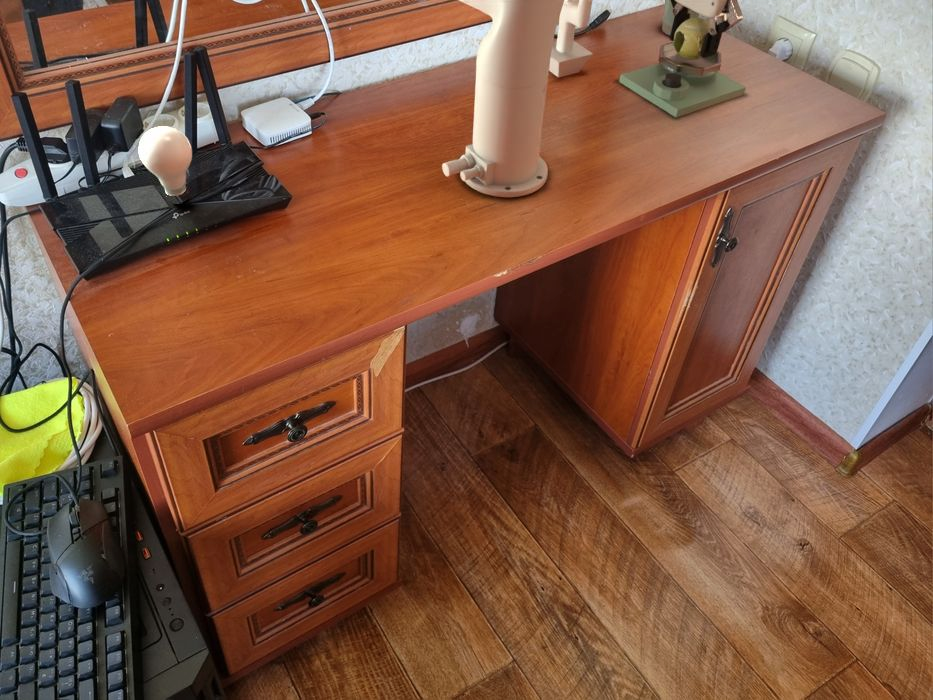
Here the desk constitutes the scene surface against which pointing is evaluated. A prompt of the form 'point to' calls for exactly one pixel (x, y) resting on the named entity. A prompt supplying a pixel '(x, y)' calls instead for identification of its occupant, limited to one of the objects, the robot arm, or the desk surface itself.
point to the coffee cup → (672, 17)
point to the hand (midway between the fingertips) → (692, 46)
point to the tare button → (672, 80)
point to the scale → (681, 89)
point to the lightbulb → (167, 157)
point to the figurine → (570, 39)
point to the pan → (688, 63)
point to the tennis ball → (691, 37)
